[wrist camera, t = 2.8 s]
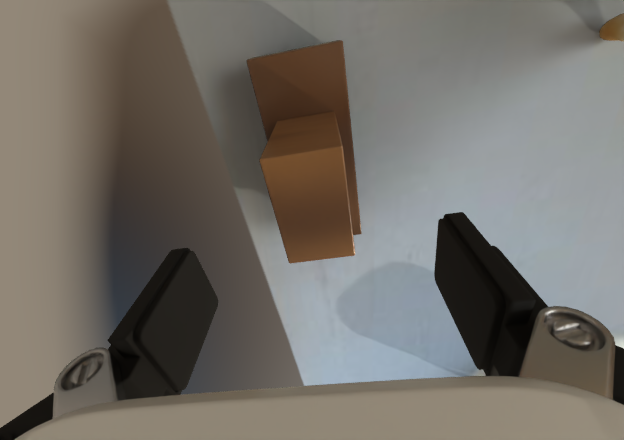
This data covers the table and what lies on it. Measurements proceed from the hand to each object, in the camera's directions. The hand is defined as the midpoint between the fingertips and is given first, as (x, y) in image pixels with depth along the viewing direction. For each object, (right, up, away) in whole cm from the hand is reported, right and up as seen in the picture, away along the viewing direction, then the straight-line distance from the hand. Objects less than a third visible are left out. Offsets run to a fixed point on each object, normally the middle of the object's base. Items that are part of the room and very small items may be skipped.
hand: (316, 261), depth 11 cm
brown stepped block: (0, +7, +11) cm, 13 cm away
